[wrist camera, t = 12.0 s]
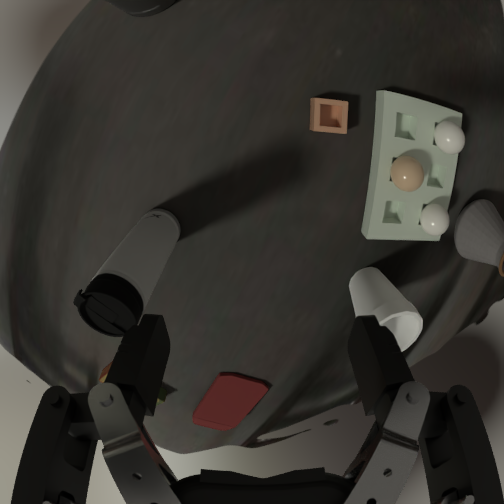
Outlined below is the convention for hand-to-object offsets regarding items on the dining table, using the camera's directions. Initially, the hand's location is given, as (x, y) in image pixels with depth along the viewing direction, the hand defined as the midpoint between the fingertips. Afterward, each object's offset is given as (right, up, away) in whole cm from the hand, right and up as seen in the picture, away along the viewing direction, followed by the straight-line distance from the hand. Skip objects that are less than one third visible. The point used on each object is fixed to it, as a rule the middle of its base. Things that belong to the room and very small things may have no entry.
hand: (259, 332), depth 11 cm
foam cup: (+19, -2, +33) cm, 39 cm away
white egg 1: (+26, +9, +25) cm, 37 cm away
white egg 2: (+26, +20, +19) cm, 38 cm away
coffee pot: (+42, +12, +26) cm, 51 cm away
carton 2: (-7, -34, +52) cm, 63 cm away
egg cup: (+9, +21, +20) cm, 31 cm away
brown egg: (+20, +15, +22) cm, 33 cm away
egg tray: (+23, +15, +23) cm, 36 cm away
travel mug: (-14, +7, +29) cm, 33 cm away
